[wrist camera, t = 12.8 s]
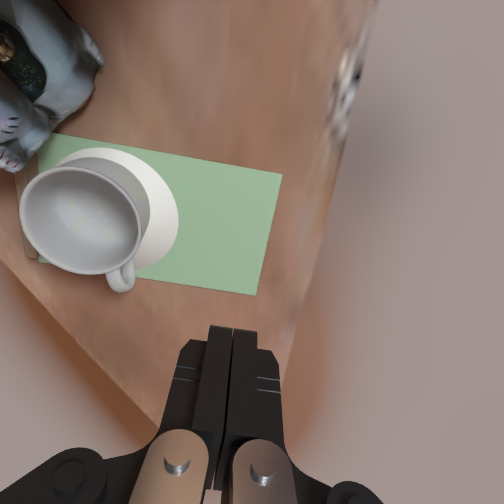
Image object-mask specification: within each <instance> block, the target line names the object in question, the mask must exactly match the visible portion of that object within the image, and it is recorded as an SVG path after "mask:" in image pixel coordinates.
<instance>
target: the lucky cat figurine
mask: <svg viewBox="0 0 504 504" xmlns="http://www.w3.org/2000/svg"><path fill="white" fill-rule="evenodd" d="M103 66H105V60H104V58H103V56H102V54H101V52H100V50H99V49H98V47H97V45H96V43H95V41H94V40H93V39H92V38H91V37H90V36H89V35H88V33H87V32H86V31H85V30H84V29H83V28H81V27H80V26H79V25H78V24H77V23H76V22H75V21H74V20H73V19H72V18H71V17H70V16H69V15H68V13H67V12H66V11H65V10H64V9H63V8H62V7H61V5H60V4H59V3H58V1H57V0H0V169H3V170H6V171H9V172H12V173H16V172H18V171H21V170H22V169H23V168H24V167H25V166H26V164H27V161H28V160H29V158H30V157H31V156H32V155H33V154H34V153H36V152H37V151H38V150H39V149H40V146H41V145H42V144H43V142H46V141H47V140H48V139H49V137H50V135H51V133H52V132H53V130H54V129H55V128H56V126H58V125H59V124H60V123H61V122H62V121H63V120H64V119H65V118H66V117H67V116H69V115H70V114H71V113H73V112H75V111H77V110H79V109H81V108H82V107H84V106H85V105H86V104H87V103H88V102H89V100H90V97H91V95H92V93H93V92H94V91H95V86H94V80H95V76H96V72H97V71H98V69H99V68H100V67H103Z"/></svg>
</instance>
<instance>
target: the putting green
mask: <svg viewBox="0 0 504 504" xmlns="http://www.w3.org/2000/svg"><path fill="white" fill-rule="evenodd" d="M86 157H97V158H103V159H107V160H111V161H113V162H116V163H118V164H120V165H122V166H123V167H125V168H126V169H128V170H129V171H130V172H131V173H132V174H134V175H135V176H136V178H137V179H138V180H139V181H140V182H141V184H142V185H143V187H144V189H145V191H146V193H147V196H148V199H149V204H150V219H149V224H148V227H147V229H146V232H145V234H144V236H143V238H142V240H141V242H140V245H139V248H138V250H137V251H136V253H135V255H134V256H133V257H132V259H133V263H134V267H135V277H139V278H145V279H152V280H158V281H165V282H171V283H177V284H184V285H190V286H197V287H203V288H209V289H216V290H222V291H229V292H235V293H241V294H248V295H254V296H255V295H256V291H257V286H258V282H259V277H260V273H261V268H262V264H263V259H264V255H265V251H266V246H267V242H268V237H269V233H270V228H271V224H272V219H273V215H274V210H275V206H276V202H277V197H278V193H279V188H280V184H281V179H282V174H278V173H273V172H267V171H262V170H256V169H251V168H245V167H240V166H234V165H229V164H223V163H218V162H212V161H207V160H201V159H196V158H190V157H185V156H179V155H174V154H168V153H163V152H157V151H152V150H146V149H141V148H135V147H130V146H124V145H119V144H113V143H108V142H102V141H97V140H91V139H86V138H80V137H75V136H69V135H64V134H58V133H53V132H52V133H51V135H50V137H49V139H48V140H47V141H46V142H43V144H42V145H41V146H40V149H39V150H38V151H37V152H36V153H34V154H33V155H32V156H31V157H30V158H29V160H28V161H27V164H26V166H25V167H24V168H23V169H22V170H21V171H18V172H16V173H14V178H15V185H16V192H17V199H18V206H20V200H21V196H22V194H23V191H24V190H25V188H26V186H27V185H28V183H29V182H30V181H31V180H32V179H33V178H34V177H35V176H37V175H38V174H40V173H42V172H44V171H46V170H48V169H51V168H55V167H57V166H59V165H62V164H64V163H66V162H69V161H72V160H75V159H79V158H86ZM21 227H22V226H21ZM22 234H23V241H24V248H25V255H26V257H29V258H35V259H37V258H38V261H39V262H43V263H49V264H52V263H50V262H49V261H47V260H46V259H45V258H44V257H43V256H41V255H40V254H39V253H38V251H37V250H36V249H35V248H34V247H33V246H32V245H31V243H30V242H29V241H28V239H27V237H26V235H25V233H24V231H23V229H22ZM120 271H121V267H120Z"/></svg>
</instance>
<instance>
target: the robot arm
mask: <svg viewBox="0 0 504 504" xmlns="http://www.w3.org/2000/svg"><path fill="white" fill-rule="evenodd" d="M232 332H233V328H228V327H221V326H215V325H210V329H209V334H208V340H207V341H200V340H193V339H190V340H189V341H188V343H187V344H186V345H185V346H184V347H183V348H182V349H181V350H180V354H179V358H178V361H177V366H176V369H175V373H174V376H173V380H172V384H171V388H170V391H169V395H168V399H167V403H166V406H165V410H164V414H163V418H162V421H161V425H160V428H159V431H158V432H157V434H156V436H155V437H154V438H153V440H152V441H151V442H150V443H149V444H148V445H146V446H145V447H144V448H142V449H140V450H138V451H136V452H134V453H132V454H128V455H124V456H119V457H114V458H109V459H104V460H103V459H102V457H101V456H100V455H99V454H98V453H97V452H95V451H93V450H91V449H88V448H71V449H68V450H64V451H62V452H60V453H58V454H56V455H55V456H53V457H51V458H50V459H49V460H47V461H45V462H44V463H43V464H41V465H40V466H38V467H37V468H35V469H34V470H32V471H31V472H29V473H28V474H26V475H25V476H23V477H22V478H20V479H19V480H17V481H16V482H15V483H13V484H12V485H10V486H9V487H7V488H6V489H4V490H3V491H1V492H0V504H203V500H204V495H205V490H206V489H211V485H212V480H213V476H214V471H215V476H214V486H213V490H220V491H222V495H221V504H383V503H382V502H381V500H380V499H379V498H378V497H377V496H376V495H375V494H374V493H373V492H372V491H371V490H369V489H368V488H366V487H365V486H363V485H361V484H359V483H356V482H352V481H344V482H340V483H338V484H336V485H335V486H334V487H333V488H332V487H330V486H328V485H326V484H324V483H322V482H319V481H318V480H315V479H313V478H311V477H309V476H308V475H306V474H304V473H303V472H302V471H300V470H299V469H298V468H297V467H296V466H295V465H294V464H293V462H292V461H291V459H290V458H289V456H288V454H287V452H286V449H285V445H284V435H283V420H282V405H281V394H280V382H279V380H280V376H279V364H278V362H277V360H276V358H275V357H274V355H273V353H272V351H269V350H262V349H257V332H256V331H249V330H242V329H235V328H234V332H233V337H232Z"/></svg>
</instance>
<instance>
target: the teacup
mask: <svg viewBox="0 0 504 504" xmlns="http://www.w3.org/2000/svg"><path fill="white" fill-rule="evenodd" d="M19 215H20V221H21V226H22V229H23V231H24V233H25V235H26V237H27V239H28V241H29V242H30V243H31V245H32V246H33V247H34V248H35V249H36V250H37V251H38V253H39V254H40V255H41V256H43V257H44V258H45V259H46V260H47V261H49V262H50V263H52V264H54V265H56V266H58V267H59V268H61V269H64V270H67V271H69V272H73V273H77V274H86V275H95V274H104V273H105V274H106V279H107V282H108V284H109V286H110V287H111V289H112V290H114V291H115V292H119V293H122V292H126V291H129V290H130V289H131V288H132V287H133V286H134V284H135V267H134V263H133V259H132V257H133V256H134V255H135V253H136V251H137V250H138V248H139V245H140V242H141V240H142V238H143V236H144V234H145V232H146V229H147V227H148V224H149V219H150V204H149V199H148V196H147V193H146V191H145V189H144V187H143V185H142V184H141V182H140V181H139V180H138V179H137V178H136V176H135V175H134V174H132V173H131V172H130V171H129V170H128V169H126V168H125V167H123V166H122V165H120V164H118V163H116V162H113V161H111V160H107V159H103V158H97V157H86V158H79V159H75V160H72V161H69V162H66V163H64V164H62V165H59V166H57V167H55V168H51V169H48V170H46V171H44V172H42V173H40V174H38V175H37V176H35V177H34V178H33V179H32V180H31V181H30V182H29V183H28V185H27V186H26V188H25V190H24V191H23V194H22V196H21V200H20V206H19ZM120 267H121V271H120ZM121 275H122V276H121Z"/></svg>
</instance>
